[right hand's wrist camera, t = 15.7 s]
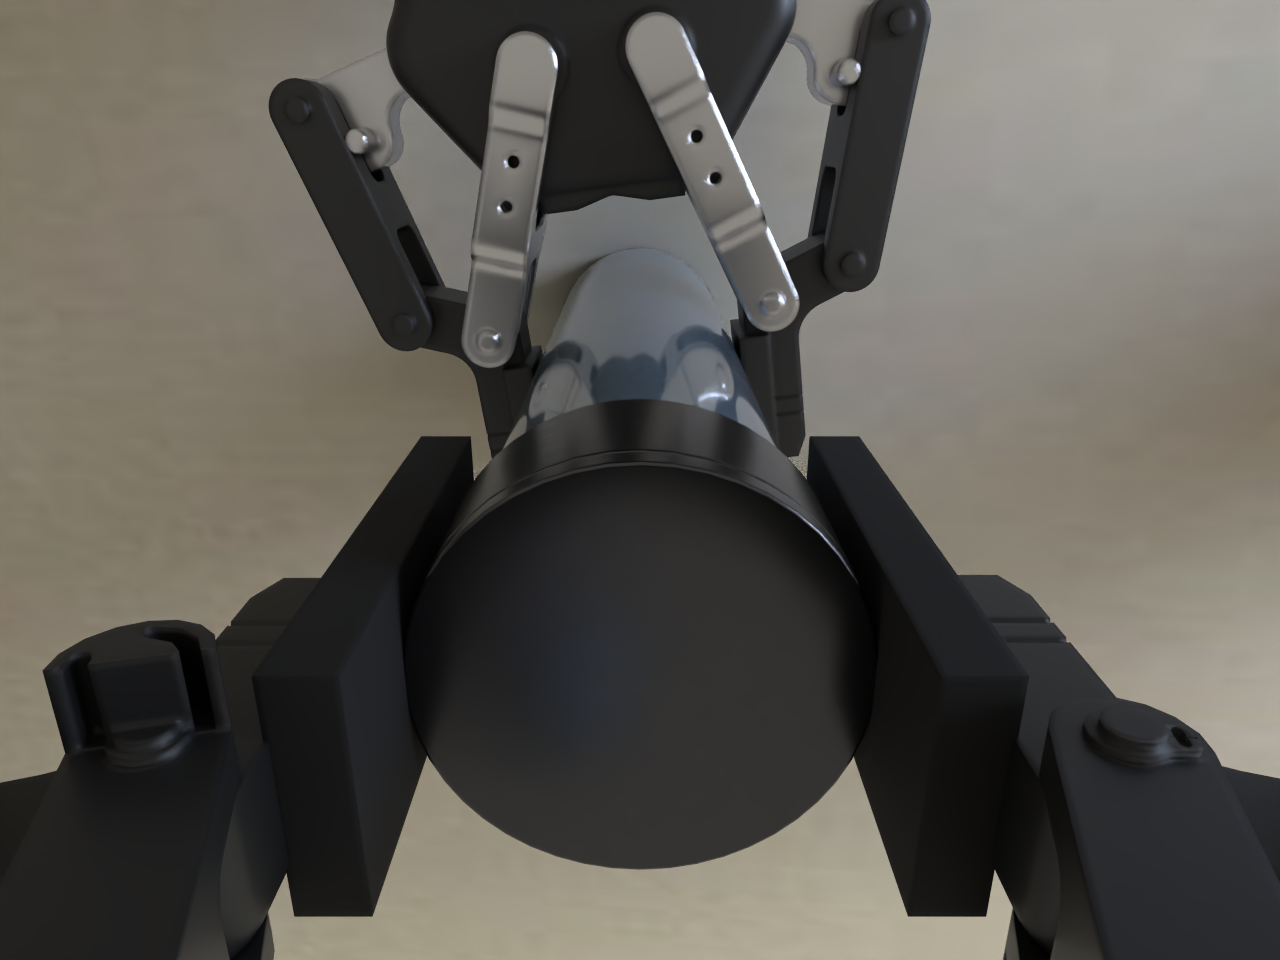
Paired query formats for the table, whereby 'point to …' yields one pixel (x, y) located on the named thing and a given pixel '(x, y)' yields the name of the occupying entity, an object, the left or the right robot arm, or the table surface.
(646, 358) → the blue-grey bottle
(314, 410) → the table surface
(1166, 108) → the table surface
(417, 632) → the lid
